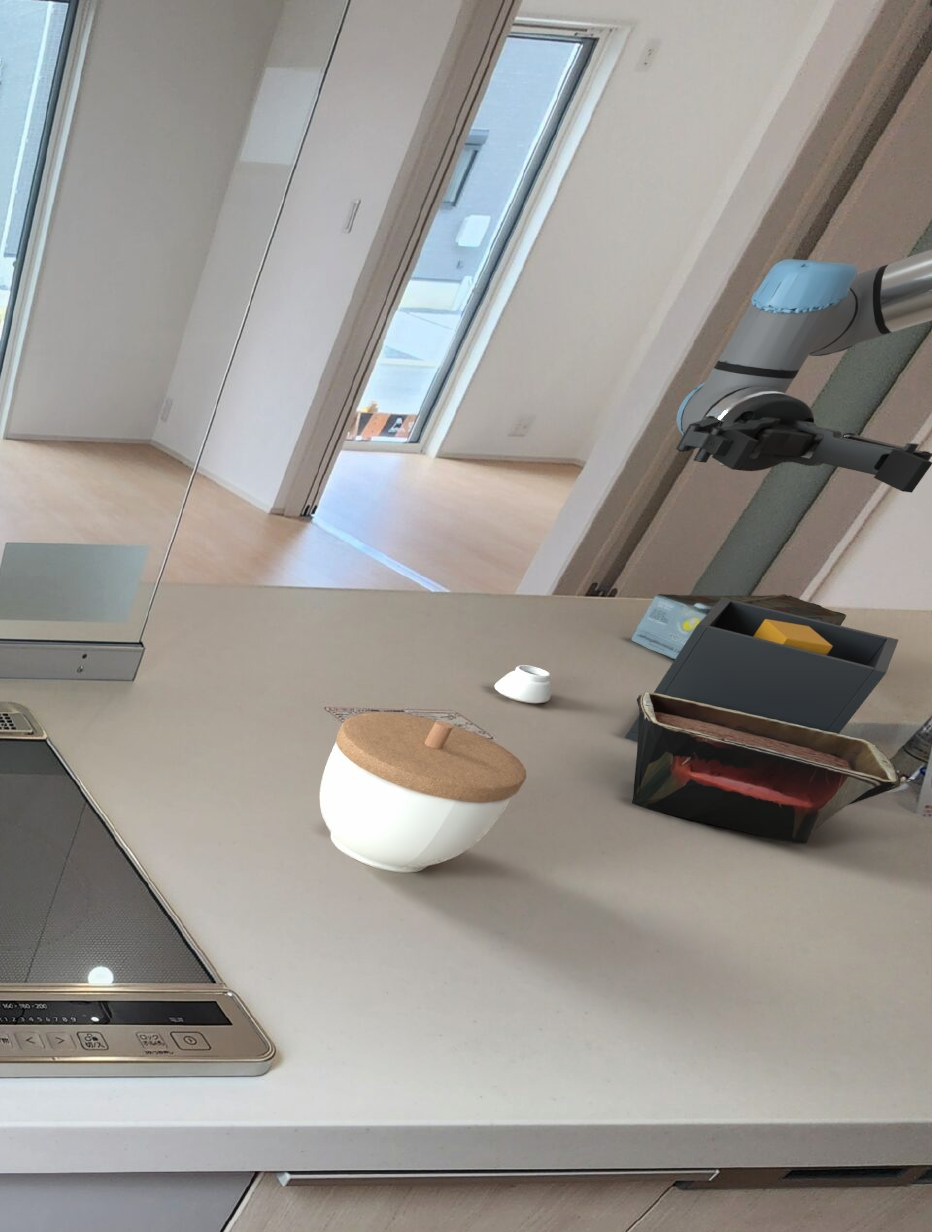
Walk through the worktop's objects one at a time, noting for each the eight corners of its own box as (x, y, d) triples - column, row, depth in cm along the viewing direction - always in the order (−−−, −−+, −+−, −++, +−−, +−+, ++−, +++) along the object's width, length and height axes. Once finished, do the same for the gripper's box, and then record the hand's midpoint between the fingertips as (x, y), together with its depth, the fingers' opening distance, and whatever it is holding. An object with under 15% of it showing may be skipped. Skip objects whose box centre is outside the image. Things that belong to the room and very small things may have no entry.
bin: (812, 751, 107) (899, 639, 100) (794, 791, 100) (886, 672, 93) (652, 704, 115) (722, 597, 108) (624, 738, 107) (697, 624, 100)
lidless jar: (482, 689, 116) (524, 708, 112) (496, 663, 114) (539, 682, 110) (514, 685, 117) (557, 704, 113) (528, 659, 115) (572, 678, 112)
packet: (734, 730, 109) (809, 626, 102) (754, 753, 104) (833, 646, 98) (694, 722, 110) (765, 618, 103) (711, 745, 105) (786, 638, 99)
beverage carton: (623, 639, 132) (655, 586, 128) (757, 642, 134) (792, 590, 131) (678, 664, 126) (713, 609, 122) (817, 667, 128) (856, 613, 124)
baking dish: (607, 766, 106) (646, 671, 101) (856, 807, 96) (916, 703, 90) (586, 828, 98) (628, 727, 92) (857, 880, 87) (923, 770, 82)
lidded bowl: (431, 821, 90) (498, 701, 84) (493, 903, 80) (575, 774, 74) (277, 800, 92) (331, 680, 85) (319, 878, 82) (384, 749, 75)
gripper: (870, 482, 117) (962, 527, 102) (606, 448, 125) (654, 486, 109) (920, 408, 113) (1025, 443, 97) (644, 377, 120) (700, 406, 105)
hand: (829, 466), depth 103 cm, fingers open, 13 cm apart
